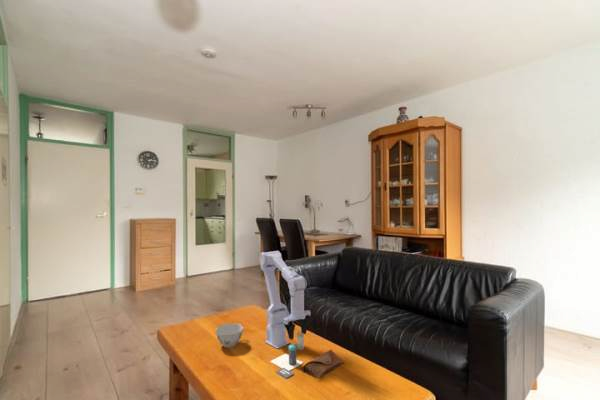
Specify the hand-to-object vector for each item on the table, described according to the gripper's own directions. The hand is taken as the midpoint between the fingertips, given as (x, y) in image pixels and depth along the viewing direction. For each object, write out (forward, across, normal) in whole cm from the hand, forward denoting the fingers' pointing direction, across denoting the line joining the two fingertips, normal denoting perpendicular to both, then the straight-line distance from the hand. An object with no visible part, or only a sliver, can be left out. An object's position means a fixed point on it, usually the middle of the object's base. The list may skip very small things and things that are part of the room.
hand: (297, 335), depth 129 cm
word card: (+10, -12, -5) cm, 16 cm away
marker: (+9, -5, -2) cm, 11 cm away
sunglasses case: (+10, +3, -13) cm, 17 cm away
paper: (+10, -6, +1) cm, 11 cm away
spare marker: (+10, +7, +5) cm, 13 cm away
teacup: (+10, -14, +32) cm, 36 cm away
